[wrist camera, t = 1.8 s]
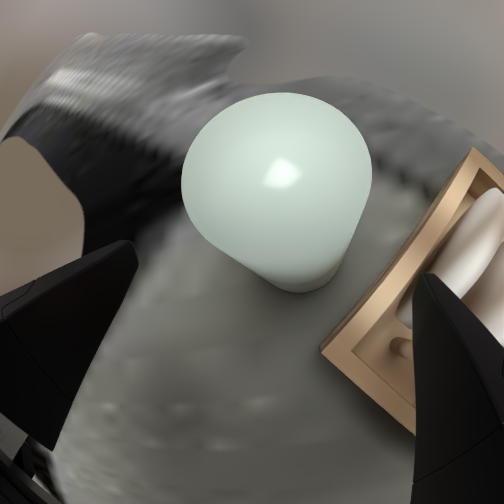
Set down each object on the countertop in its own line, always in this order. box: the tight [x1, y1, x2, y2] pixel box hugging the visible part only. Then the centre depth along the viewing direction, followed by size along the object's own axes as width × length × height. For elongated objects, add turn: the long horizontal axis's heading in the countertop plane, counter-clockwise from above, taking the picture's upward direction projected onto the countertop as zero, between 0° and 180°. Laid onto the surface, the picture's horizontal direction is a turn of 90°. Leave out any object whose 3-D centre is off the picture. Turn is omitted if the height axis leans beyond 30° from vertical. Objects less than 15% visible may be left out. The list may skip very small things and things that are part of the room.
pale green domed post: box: [181, 93, 372, 293], centre depth 13 cm, size 6×6×11 cm
